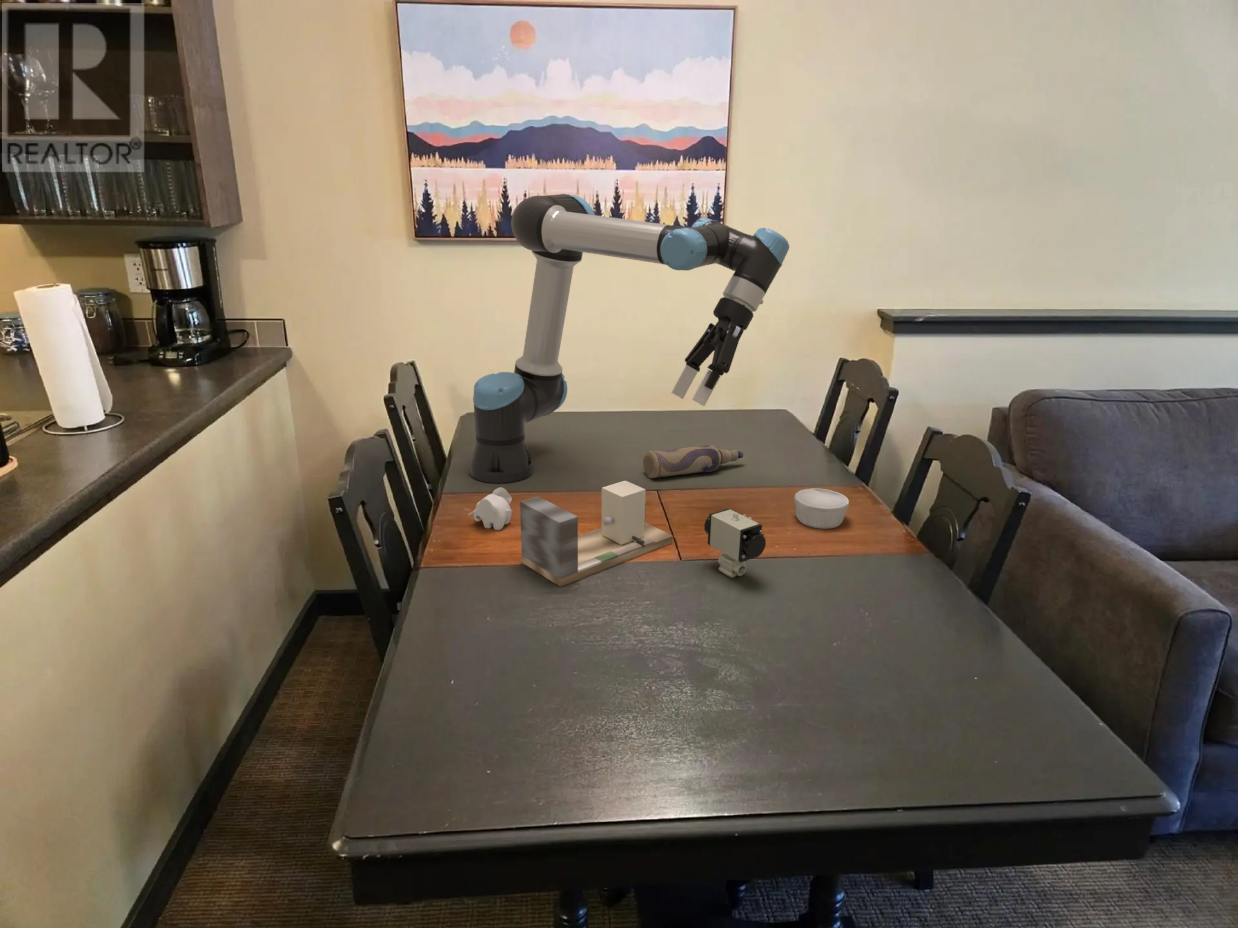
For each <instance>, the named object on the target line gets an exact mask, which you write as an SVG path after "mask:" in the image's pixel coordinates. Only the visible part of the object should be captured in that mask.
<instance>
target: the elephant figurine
mask: <svg viewBox="0 0 1238 928" xmlns="http://www.w3.org/2000/svg"><path fill="white" fill-rule="evenodd" d="M512 498H513V497H512V496H511V495H510V493H509V492H508V491H507V490H506V488H504V487H502V486H501V487H497V488H495V489H494V490H493V491H492V493H490V494H487V495H486V496H485V497H483V498H482V499H481V500H480V501H478V502H477V503H476V505H475V509H474V510H473V511H471V512H469V513H468V514H467V516H471V515H473V518H474V520H475V521H476V522H480V521H482V523H483V527H484V528H485V529H491V528H493V529H494V530H495V531H501V530H503V527H504V526H505V525H507V524H509V523H510V521H511V519H512V512H513V509H511V508H512V507H511V506H510V504H511V503H512Z"/></svg>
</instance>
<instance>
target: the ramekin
mask: <svg viewBox="0 0 1238 928" xmlns="http://www.w3.org/2000/svg"><path fill="white" fill-rule="evenodd" d="M794 503H795V516H796V518H797V519H798V521H799V522H800V523H801V524H802V525H805V526H807V527H810V528H815V529H822V530H824V529H825V530H826V529H835V528H837V527H839V526H840V525H841V524H842V523H843V522H844V519H845V516H846V513H847V509H848V508H849V506H850V500H849V499H848V497H847V496H845V495H844V494H842V493H840V492H837V491H835V490H831V489H825V488H817V487H816V488H815V487H814V488H813V487H812V488H804V489H801V490H799V491H797V492H796V493H795V494H794Z"/></svg>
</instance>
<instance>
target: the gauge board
mask: <svg viewBox="0 0 1238 928" xmlns="http://www.w3.org/2000/svg"><path fill="white" fill-rule="evenodd" d="M519 510H520V511H519V513H520V514H519V515H520V516H519V517H520V540H521V541H520V543H521V544H520V545H521V547H520V548H521V564H523V565H525V566H527V567H528V568H529V569H531V570H533V571H535V572H536V573H538V574H539V575H541V576H542V577H544V578H545V579H547V580H549V581H551V582H552V583H554V584H556V585H557V586H559V587H561V588H562V587H563V586H566V585H568V584H571V583H574V582H576V581H579V580H581V579H584V578H586V577H589V576H591V575H593V574H595V573H599V572H602V571H605V570H607V569H609V568H611V567H614V566H616V565H619V564H621V563H624V562H626V561H629V560H632V559H635V558H637V557H640V556H643V555H645V554H647V553H650V552H653V551H654V550H657V549H660V548H664V547H665V546H667V545H670V544H673V543H674V542H673V540H674V535H672V534H670V533H668V532H666V531H664V530H661V529H660V528H658V527H655V526H653V525H651V524H649V523H647V522H645V529H644V537H641V538H639V539H641V540H643V541H644V544H641V543H639V542H637V541H635V540H633V541H630V542H628V543H625V544H622V545H621V544H619V543H617V542H615V541H613V540H611V539H609V538H607V537H605V536H604V535H602V534H601V533H602V526H600V527H599V528H595V529H593V530H590V531H587V532H585V533H581V534H579V533H578V532H579V527H578V525H579V521H578V520H579V518H578V517H579V516H577V515H575V514H573V513H571V512H569V511H567V510H566V509H564V508H561V507H559V506H558V505H556V504H554V503H552V502H550V501H548V500H546V499H544V498H543V497H540V496H538V495H537V496H534V497H529V498H527V499H523V500H520V501H519Z"/></svg>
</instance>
